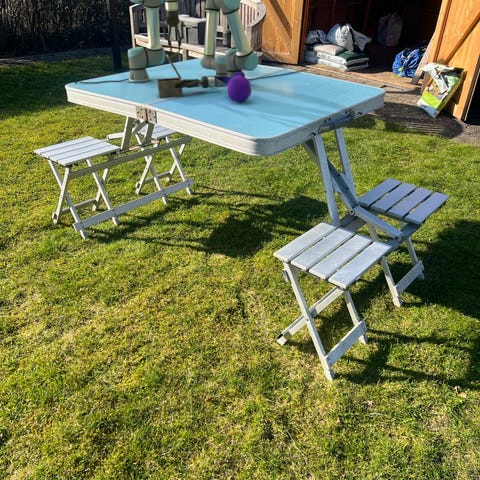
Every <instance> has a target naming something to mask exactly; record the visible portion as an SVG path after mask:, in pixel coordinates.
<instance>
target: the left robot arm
mask: <svg viewBox="0 0 480 480" xmlns="http://www.w3.org/2000/svg"><path fill="white" fill-rule="evenodd" d="M129 1H130V3H133V4H136V5H143V7H144V9H145V11H146V14H145V15H146V29H147V30H146V31H147V44H146V46H145V47H146V48H144V47H143V46H137V47H132V48H130V49H127V58H128V66H129V76H128V78H124V79H121V80H120V79H119V80H103V81H102V80H101V81H75V82H74V83H75V84H74V85H77V84H100V83H101V84H103V83H115V82H116V83H121V82H125V81H128V82H129V83H133V84H141V83H148V82H150V76H149V74H148V71H147V66H158V65H163V64H164V63H165V61H166V51H165V50H166V49H165V48H164V47H163V45H162V44H161V35H160V13H159V12H160V11H159V10H160V9H161V5H162V4H164V7H165V21H162V22H161V24H162V29H163V38H164V40H166V41H167V46H168V47H169V51H170V52H171V53H173V48H172V47H173V45H172V40H171V34H172V28H175V31H176V34H177V38H178V39H177V48H178V50H177V51H178V52H179V53H181V46H182V40H183V39H185V34H184V31H185V30H184V24H185V21H183V20H180V16H179V5H178V0H129ZM166 25H168V31H167V27H166ZM179 25H180V30H179ZM167 32H168V33H167ZM78 82H79V83H78ZM79 131H80V134H81V135H83V130H82V128H81V129H79Z"/></svg>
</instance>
